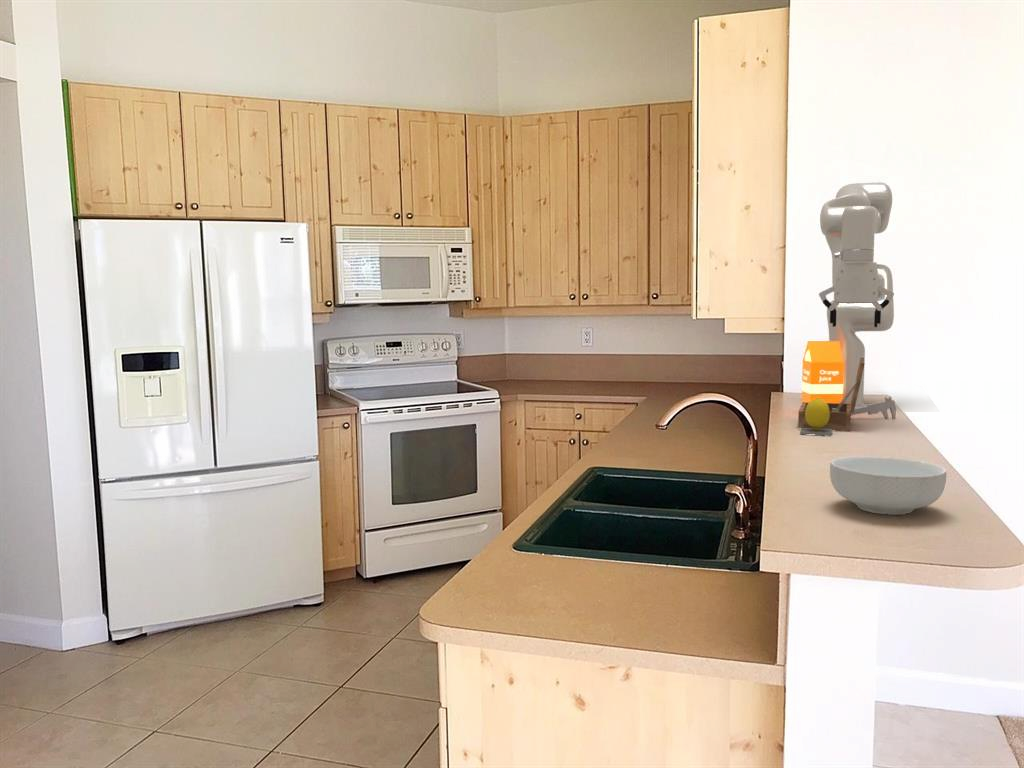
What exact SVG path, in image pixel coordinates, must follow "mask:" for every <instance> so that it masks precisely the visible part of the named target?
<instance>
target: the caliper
mask: <svg viewBox="0 0 1024 768" xmlns="http://www.w3.org/2000/svg"><path fill="white" fill-rule="evenodd" d="M887 409H889V411H890V414H891V418H892V420H896V417H897V416H896V415H897V406H896V402H895V400H893V399H892V396H888V397H884V401H879V402H878V401H877V402H873V403H870V404H869V403H868V404H867V406H866V407H860V408H855V409H854V412H853V413H851V416H854V415H855V416H856V415H860V414H865V413H867V414H868V415H874V414H878V413H880V412H881V413H882V416H883V417H884V419H885V420H889V413H888V410H887Z"/></svg>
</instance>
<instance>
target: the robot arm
mask: <svg viewBox="0 0 1024 768" xmlns="http://www.w3.org/2000/svg"><path fill="white" fill-rule="evenodd" d="M892 204H893V192H892V190H891V188H890V186H889V185H888V184H887V183H885V182H860V183H859V182H857V183H855V182H854V183H849V184H846V185H844V186H842V187H841V188H839V189H838V191H837V193H836V195H835V198H833V199H830V200H828V201H826V202H825V203H824V204H823V205H822V207H821V210H820V216H819V224H820V226H819V227H820V231H821V233H822V235H824V236H825V240H826V242H827V246H828V247H829V250H830V253H831V259H832V260H831V261H832V262H831V263H832V264H831V265H832V266H831V269H832V271H831V272H832V273H831V275H832V276H831V277H832V278H831V279H832V280H831V282H832V286H831V287H828V288H826V289H825V290H822V291H821V292H819V293H818V296H819V298H820V300H821V303H822V304H823V305H824V306H825V307H826V321H827V326H828V328H827V329H828V341H839V343H840V348H841V352H842V357H843V362H844V370H843V398H844V397H845V395H846V394H847V392H848V391H849V389H850V388H851V386H852V385H853V383H854V382H855V381H856V376H857V372H858V367H859V363H860V358H864V362H865V361H866V349H865V348H866V347H865V345H864V343H863V341H862V340H861V339H860V338H859V336H857V334H856V333H857V332H858V333H859V332H885V331H888V330H890V329H891V328H892V327H893V324H894V320H895V319H894V318H895V311H894V310H895V306H894V295H895V293H894V281H893V274H892V270H891V269H890V268H889V266H887V265H885V264H880V263H877V262H875V261H874V259H875V257H874V256H875V253H874V252H875V234H881V233H883V232H885V231H886V230H887V228H888V226H889V223H890V217H891V210H892V206H893V205H892ZM831 293H833V300H831V301H829V300H828V298H827V295H829V294H831ZM864 385H865V368H864V369H863V373H862V378H861V382H860V387H859V391H858V396H857V400H856V405H855V408H860V407H866V406H867V405H868V404H867V403H864V395H865V394H864V393H865V392H864V390H865V389H864V387H865V386H864ZM853 390H854V389H853ZM853 390H852V392H851V393H850V395H849V396H848V398H847V399H846V400H845V402H844V404H850V402H851V399H852V394H853Z"/></svg>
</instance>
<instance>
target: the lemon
mask: <svg viewBox="0 0 1024 768" xmlns="http://www.w3.org/2000/svg"><path fill="white" fill-rule="evenodd" d="M829 417H830V411H829V407H828V404H827V403H826V402H825V401H824V400H822V399H820V398H819V397H816V398H815V399H813V400H811V401H810V402H809V403H808V404H807V407H806V410H805V418H806V421H807V423H808V424H809V425H810V426H811V427H813V428H814V429H815V430H819V429H820V428H821V427H824V426H825V425H826V424H827V423H828V421H829Z"/></svg>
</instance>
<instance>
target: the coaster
mask: <svg viewBox="0 0 1024 768" xmlns="http://www.w3.org/2000/svg"><path fill="white" fill-rule="evenodd" d="M800 434H815V435H814V436H819V435H829V436H828V437H832V436H833V435H832V434H833V431H832V429H819V430H815V429H814V428H801V429H800V432H799V435H800Z"/></svg>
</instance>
